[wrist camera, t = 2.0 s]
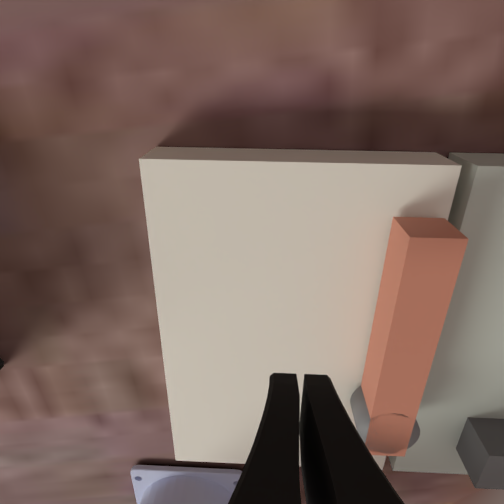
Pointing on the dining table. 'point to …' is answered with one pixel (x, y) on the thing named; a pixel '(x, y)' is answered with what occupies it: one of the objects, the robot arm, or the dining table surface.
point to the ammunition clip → (1, 363)
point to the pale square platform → (319, 290)
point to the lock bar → (406, 330)
